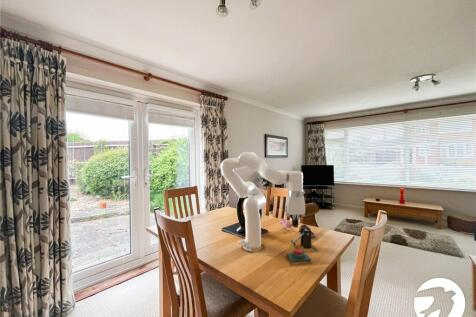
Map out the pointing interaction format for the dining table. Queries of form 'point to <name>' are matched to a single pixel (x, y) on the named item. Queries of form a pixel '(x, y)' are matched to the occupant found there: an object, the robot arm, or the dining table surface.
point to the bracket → (306, 238)
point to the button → (298, 251)
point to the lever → (297, 238)
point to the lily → (286, 224)
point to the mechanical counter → (308, 229)
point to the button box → (298, 257)
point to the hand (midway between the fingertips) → (295, 226)
